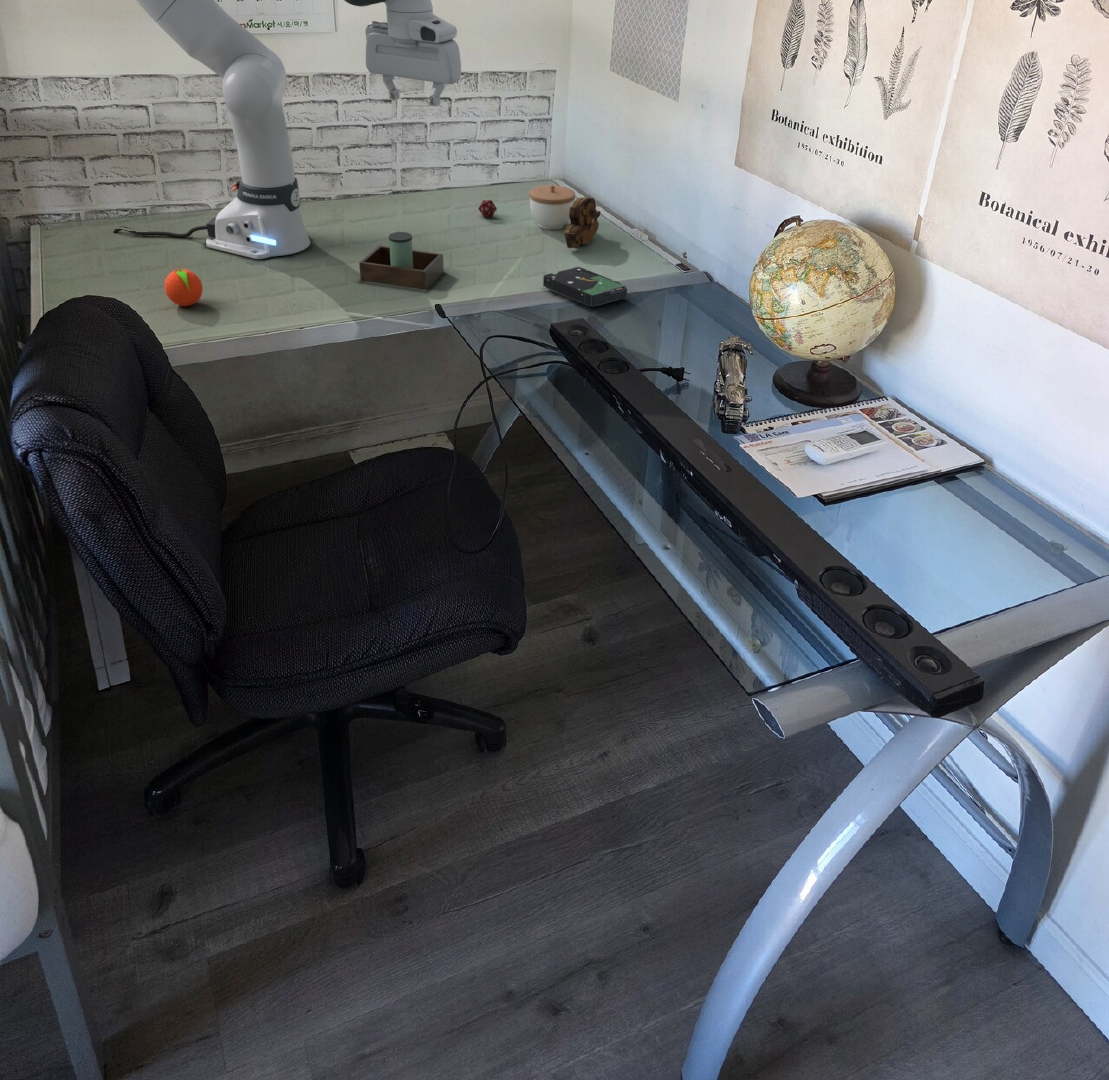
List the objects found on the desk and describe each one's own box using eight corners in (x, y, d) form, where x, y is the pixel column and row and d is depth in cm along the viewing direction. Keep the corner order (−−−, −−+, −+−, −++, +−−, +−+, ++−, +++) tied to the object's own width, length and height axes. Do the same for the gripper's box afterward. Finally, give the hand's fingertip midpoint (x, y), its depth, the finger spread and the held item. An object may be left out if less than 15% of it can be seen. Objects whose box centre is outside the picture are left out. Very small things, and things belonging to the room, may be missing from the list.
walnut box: (360, 282, 206) (359, 262, 203) (380, 264, 214) (379, 245, 211) (426, 292, 203) (425, 272, 200) (443, 273, 211) (443, 254, 209)
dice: (477, 214, 241) (477, 197, 239) (496, 214, 242) (496, 197, 239) (478, 219, 238) (478, 203, 236) (497, 219, 239) (497, 203, 236)
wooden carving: (581, 257, 221) (583, 212, 215) (562, 254, 223) (563, 209, 217) (602, 233, 234) (605, 190, 228) (584, 230, 235) (586, 187, 229)
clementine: (211, 309, 193) (205, 274, 188) (175, 316, 190) (167, 281, 185) (199, 294, 198) (193, 260, 194) (164, 301, 195) (156, 266, 191)
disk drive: (541, 288, 206) (591, 308, 197) (542, 275, 204) (592, 294, 196) (577, 278, 212) (627, 297, 203) (578, 266, 211) (628, 284, 202)
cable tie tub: (387, 278, 207) (384, 238, 202) (396, 270, 210) (393, 230, 205) (409, 281, 206) (406, 241, 201) (417, 273, 210) (415, 233, 204)
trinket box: (568, 235, 232) (570, 194, 227) (524, 230, 234) (525, 190, 228) (577, 220, 241) (579, 180, 235) (534, 215, 242) (535, 176, 236)
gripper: (355, 22, 192) (362, 98, 200) (447, 34, 185) (450, 112, 193) (374, 17, 196) (379, 92, 205) (464, 28, 190) (466, 105, 198)
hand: (414, 102), depth 199 cm, fingers open, 8 cm apart
